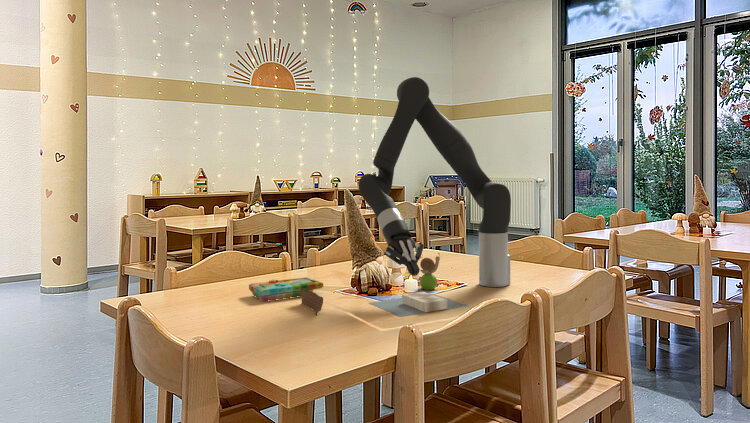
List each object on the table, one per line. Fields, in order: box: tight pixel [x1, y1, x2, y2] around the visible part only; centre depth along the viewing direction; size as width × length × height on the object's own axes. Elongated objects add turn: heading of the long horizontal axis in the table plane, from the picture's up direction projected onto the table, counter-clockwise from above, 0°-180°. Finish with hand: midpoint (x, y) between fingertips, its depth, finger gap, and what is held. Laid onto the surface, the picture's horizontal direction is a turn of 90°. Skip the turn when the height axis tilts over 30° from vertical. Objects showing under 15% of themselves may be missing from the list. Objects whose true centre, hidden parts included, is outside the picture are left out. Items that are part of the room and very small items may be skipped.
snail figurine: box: [419, 252, 441, 291], centre depth 181 cm, size 5×6×12 cm
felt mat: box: [368, 293, 470, 318], centre depth 162 cm, size 22×18×1 cm
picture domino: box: [401, 291, 448, 313], centre depth 159 cm, size 7×3×12 cm
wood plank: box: [300, 288, 324, 317], centre depth 160 cm, size 15×2×5 cm, turn 28°
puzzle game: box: [248, 277, 324, 302], centre depth 179 cm, size 12×5×20 cm
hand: (416, 274), depth 162 cm, fingers closed
